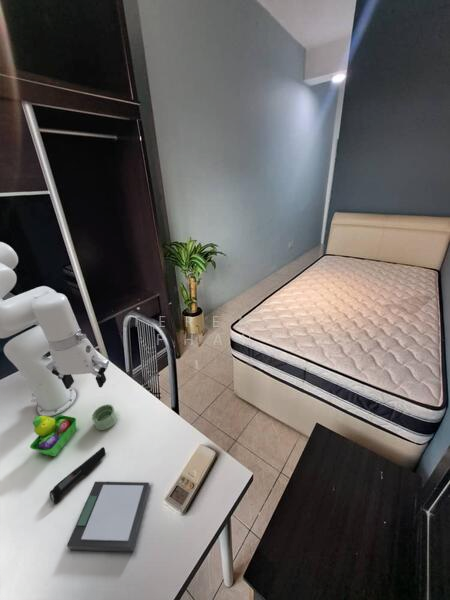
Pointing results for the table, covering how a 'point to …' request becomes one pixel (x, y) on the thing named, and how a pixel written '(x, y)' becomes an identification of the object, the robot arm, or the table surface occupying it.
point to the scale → (111, 517)
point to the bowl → (104, 417)
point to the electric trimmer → (76, 475)
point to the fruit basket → (52, 433)
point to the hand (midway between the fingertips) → (86, 384)
